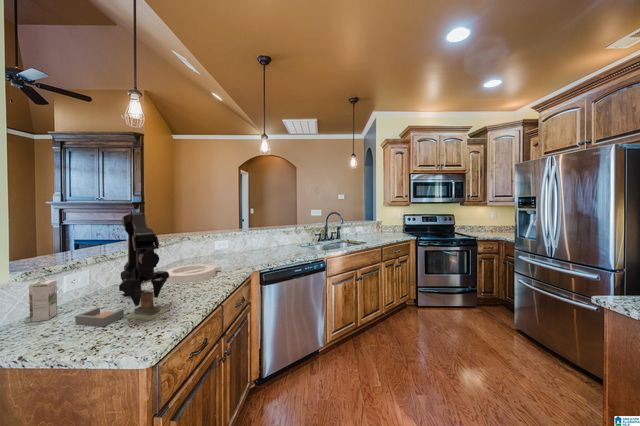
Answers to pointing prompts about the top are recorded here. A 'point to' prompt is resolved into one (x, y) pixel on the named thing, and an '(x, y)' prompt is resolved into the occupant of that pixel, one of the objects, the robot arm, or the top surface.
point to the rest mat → (145, 317)
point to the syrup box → (43, 300)
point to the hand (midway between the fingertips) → (146, 301)
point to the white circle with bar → (191, 273)
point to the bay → (98, 318)
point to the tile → (104, 314)
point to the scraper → (147, 305)
